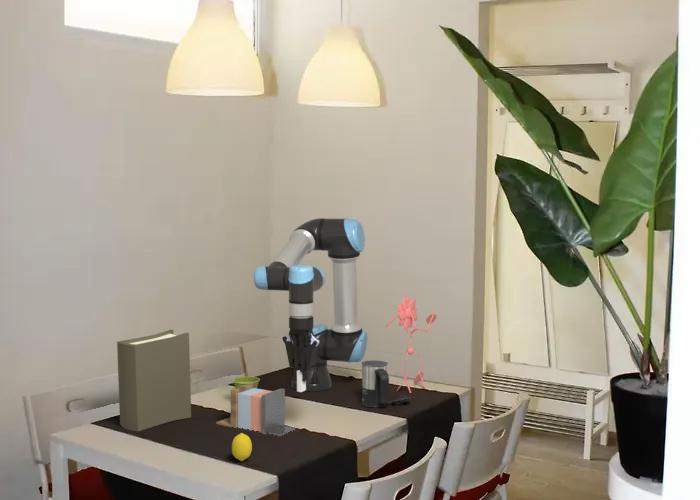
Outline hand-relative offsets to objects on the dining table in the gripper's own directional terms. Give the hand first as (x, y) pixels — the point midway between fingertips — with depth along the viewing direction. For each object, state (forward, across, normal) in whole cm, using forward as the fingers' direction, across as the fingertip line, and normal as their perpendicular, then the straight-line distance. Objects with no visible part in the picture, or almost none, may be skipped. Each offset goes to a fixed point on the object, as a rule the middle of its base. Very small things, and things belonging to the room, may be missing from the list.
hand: (301, 390), depth 255 cm
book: (+13, +44, +19) cm, 50 cm away
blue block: (+13, +16, +5) cm, 21 cm away
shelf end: (+13, +22, +5) cm, 26 cm away
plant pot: (+14, +33, -14) cm, 38 cm away
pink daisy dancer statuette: (+15, -2, -65) cm, 67 cm away
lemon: (+12, -3, +33) cm, 35 cm away
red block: (+13, +10, +5) cm, 17 cm away
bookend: (+12, +5, +5) cm, 14 cm away
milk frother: (+14, -7, -41) cm, 44 cm away
